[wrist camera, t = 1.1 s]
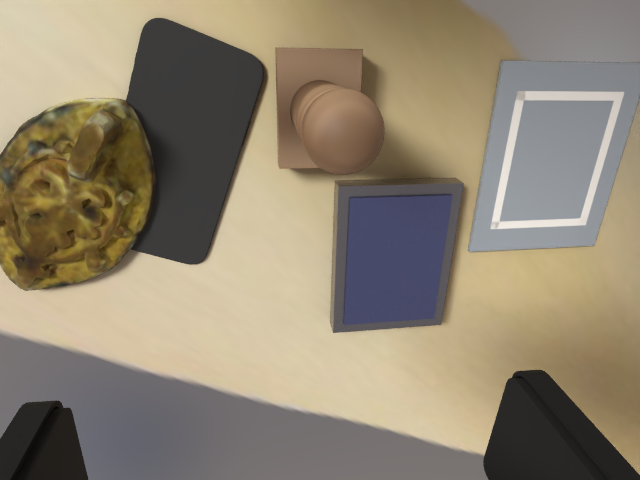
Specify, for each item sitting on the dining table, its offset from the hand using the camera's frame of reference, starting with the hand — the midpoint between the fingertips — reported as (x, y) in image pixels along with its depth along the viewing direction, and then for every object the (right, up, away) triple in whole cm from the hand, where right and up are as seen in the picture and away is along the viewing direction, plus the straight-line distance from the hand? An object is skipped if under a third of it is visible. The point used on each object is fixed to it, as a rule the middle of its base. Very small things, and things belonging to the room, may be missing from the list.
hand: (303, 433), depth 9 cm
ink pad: (+6, +3, +24) cm, 25 cm away
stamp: (0, +13, +19) cm, 23 cm away
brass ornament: (-16, +7, +19) cm, 26 cm away
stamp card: (+18, +10, +23) cm, 31 cm away
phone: (-9, +10, +19) cm, 24 cm away
